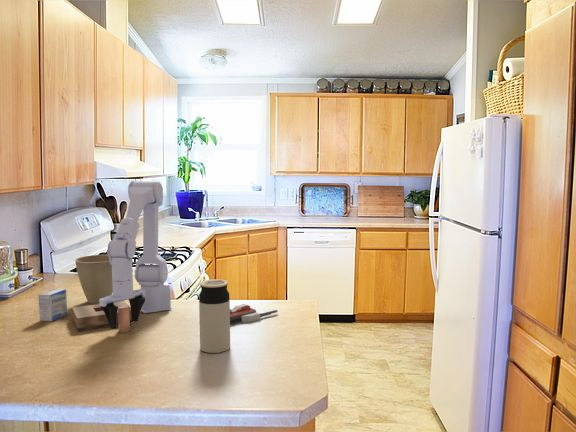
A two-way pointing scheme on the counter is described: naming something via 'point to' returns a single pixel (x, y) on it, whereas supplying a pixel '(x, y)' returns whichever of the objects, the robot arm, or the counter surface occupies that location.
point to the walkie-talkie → (246, 314)
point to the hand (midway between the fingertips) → (124, 324)
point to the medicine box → (52, 305)
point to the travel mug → (214, 316)
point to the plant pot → (95, 277)
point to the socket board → (93, 316)
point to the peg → (124, 319)
